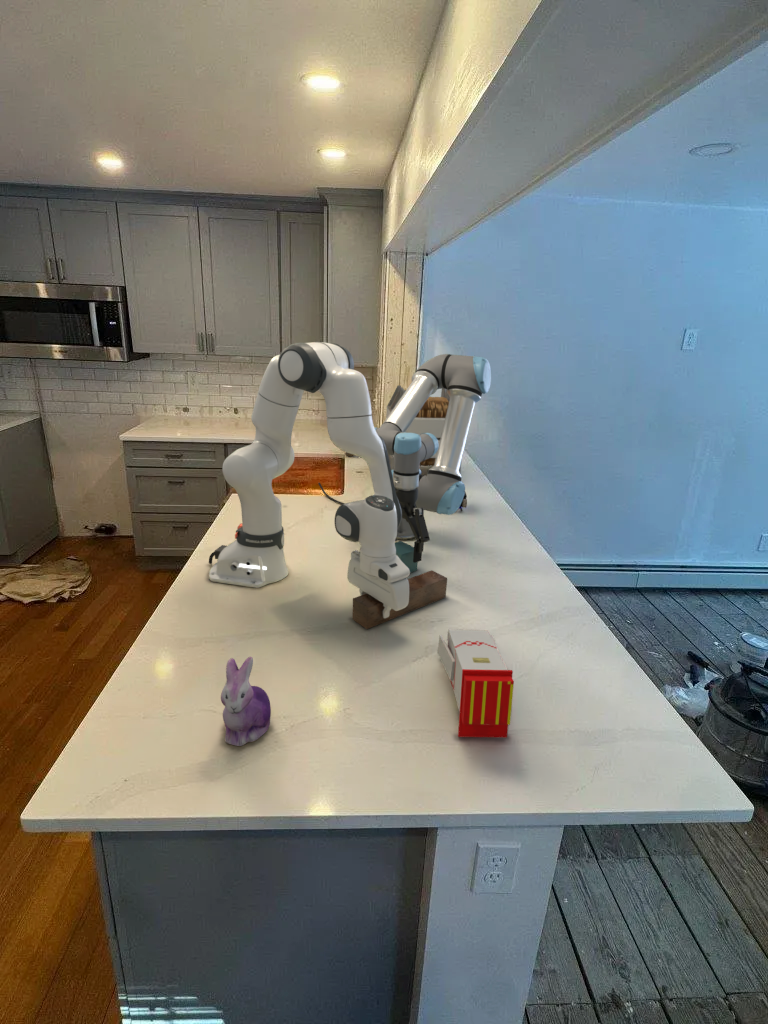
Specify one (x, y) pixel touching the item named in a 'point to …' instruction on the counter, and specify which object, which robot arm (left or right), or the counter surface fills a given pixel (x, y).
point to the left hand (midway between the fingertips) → (375, 610)
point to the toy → (478, 682)
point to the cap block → (406, 555)
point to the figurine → (244, 705)
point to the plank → (420, 594)
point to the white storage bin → (424, 419)
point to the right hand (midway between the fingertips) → (401, 553)
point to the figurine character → (463, 502)
